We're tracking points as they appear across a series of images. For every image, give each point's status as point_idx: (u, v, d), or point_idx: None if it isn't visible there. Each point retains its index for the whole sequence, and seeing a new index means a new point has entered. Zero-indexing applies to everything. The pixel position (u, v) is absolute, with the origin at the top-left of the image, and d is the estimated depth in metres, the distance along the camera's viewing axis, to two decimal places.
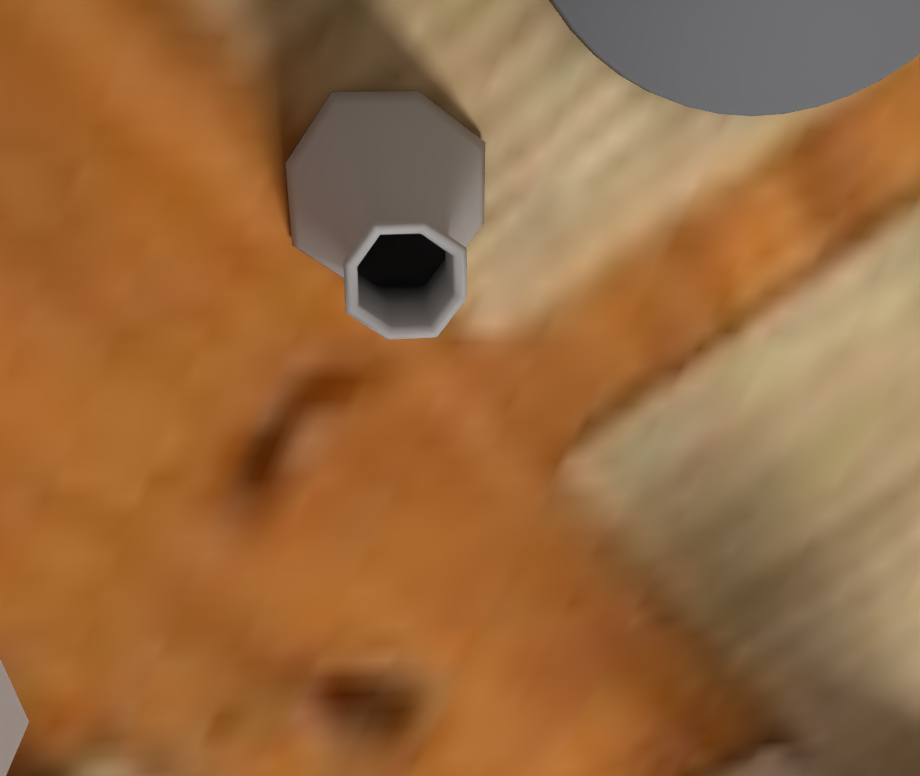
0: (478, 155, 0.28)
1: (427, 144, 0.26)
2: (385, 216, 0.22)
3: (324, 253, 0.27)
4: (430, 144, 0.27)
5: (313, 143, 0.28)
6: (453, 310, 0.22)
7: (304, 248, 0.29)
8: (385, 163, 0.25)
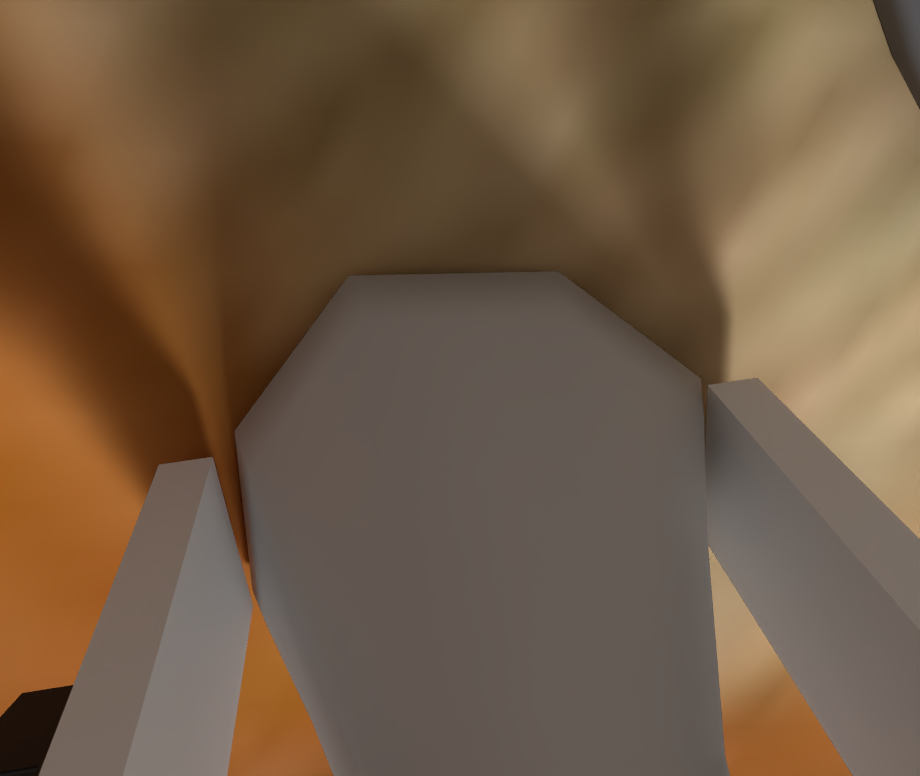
0: (703, 432, 0.12)
1: (607, 453, 0.10)
2: None
3: (323, 743, 0.10)
4: (612, 449, 0.10)
5: (298, 410, 0.11)
6: None
7: (276, 642, 0.12)
8: (512, 577, 0.08)
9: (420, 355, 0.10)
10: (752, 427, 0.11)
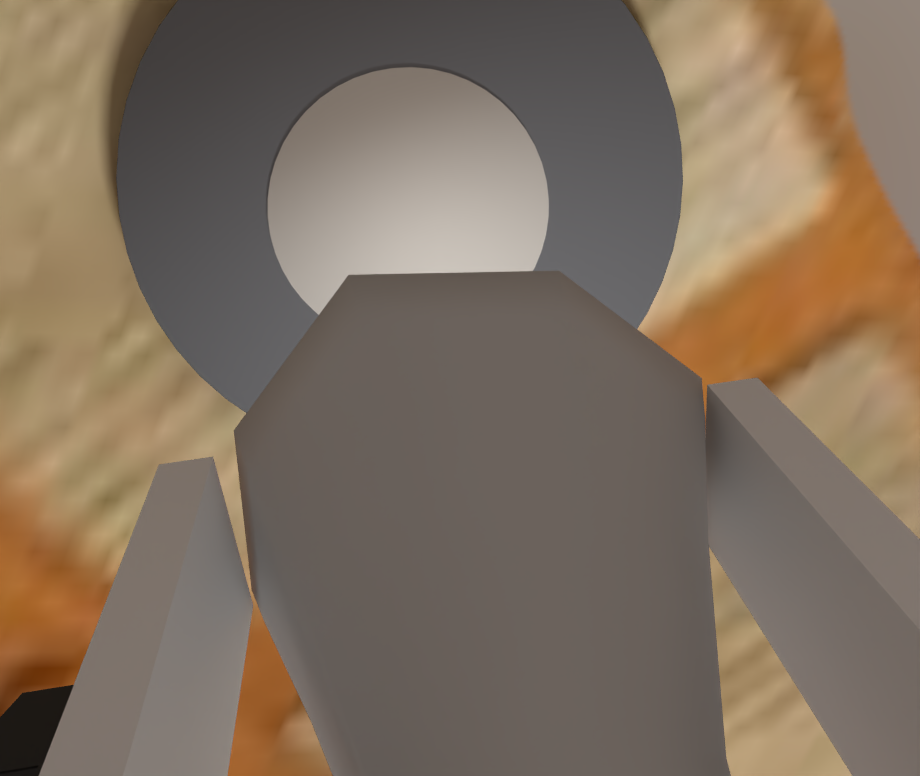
0: (704, 432, 0.12)
1: (607, 453, 0.10)
2: None
3: (322, 743, 0.10)
4: (613, 449, 0.10)
5: (298, 409, 0.11)
6: None
7: (275, 642, 0.12)
8: (512, 578, 0.08)
9: (420, 354, 0.10)
10: (752, 427, 0.11)
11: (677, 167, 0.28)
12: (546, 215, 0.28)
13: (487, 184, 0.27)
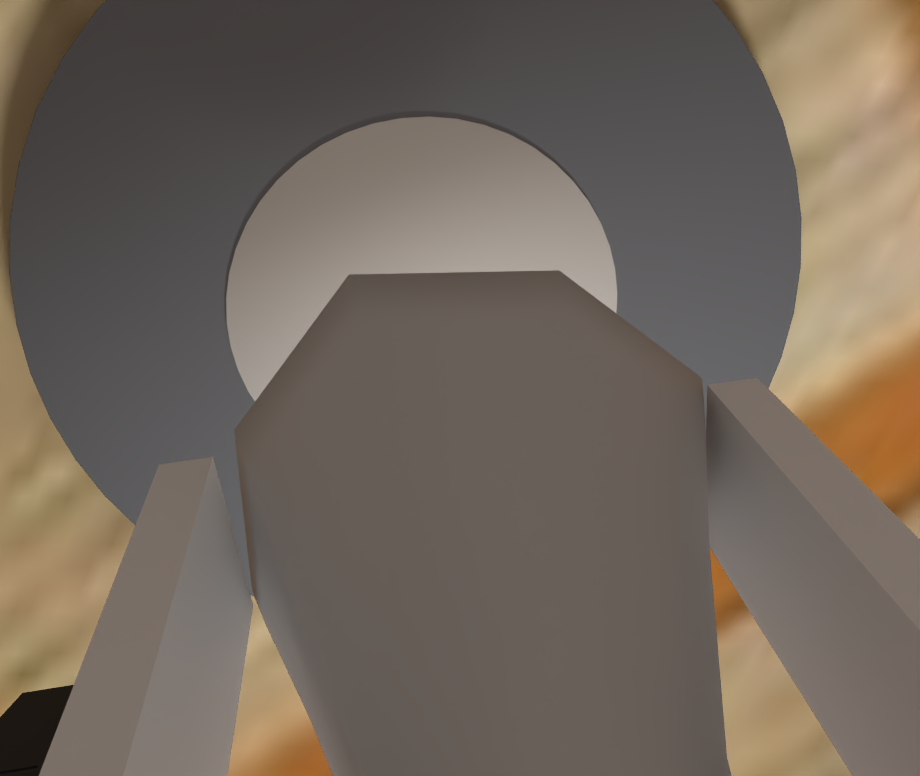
0: (704, 432, 0.12)
1: (607, 453, 0.10)
2: None
3: (322, 743, 0.10)
4: (613, 449, 0.10)
5: (298, 409, 0.11)
6: None
7: (275, 643, 0.12)
8: (512, 577, 0.08)
9: (420, 354, 0.10)
10: (752, 426, 0.11)
11: (794, 249, 0.20)
12: None
13: None
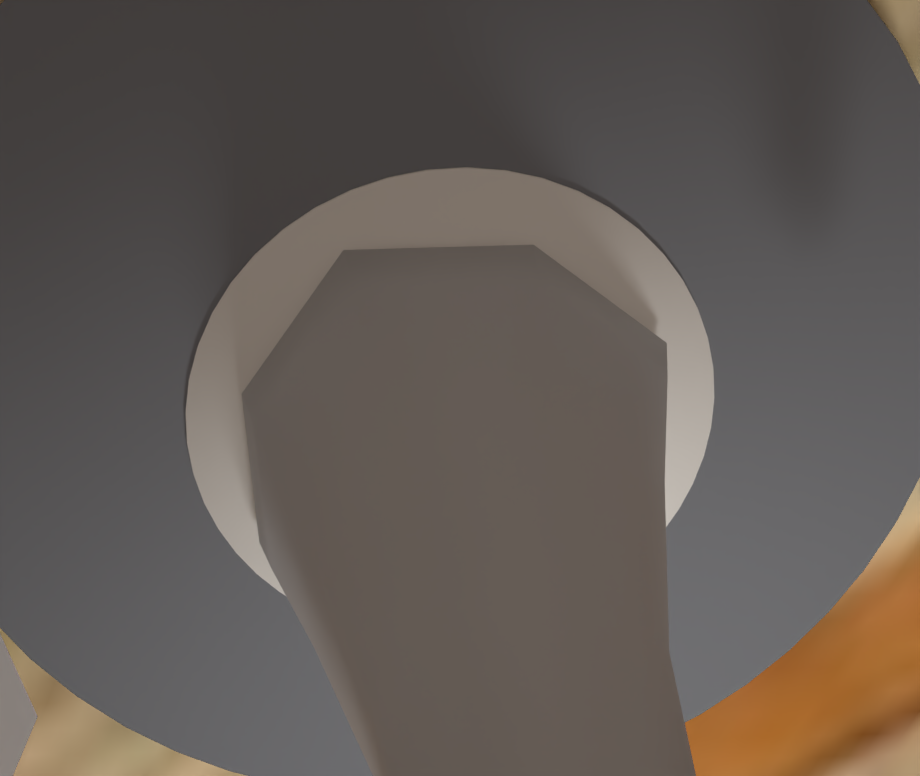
0: (666, 389, 0.13)
1: (573, 402, 0.11)
2: None
3: (323, 662, 0.11)
4: (578, 399, 0.11)
5: (299, 371, 0.12)
6: None
7: (281, 584, 0.13)
8: (485, 501, 0.09)
9: (407, 318, 0.11)
10: None
11: None
12: (707, 424, 0.15)
13: None
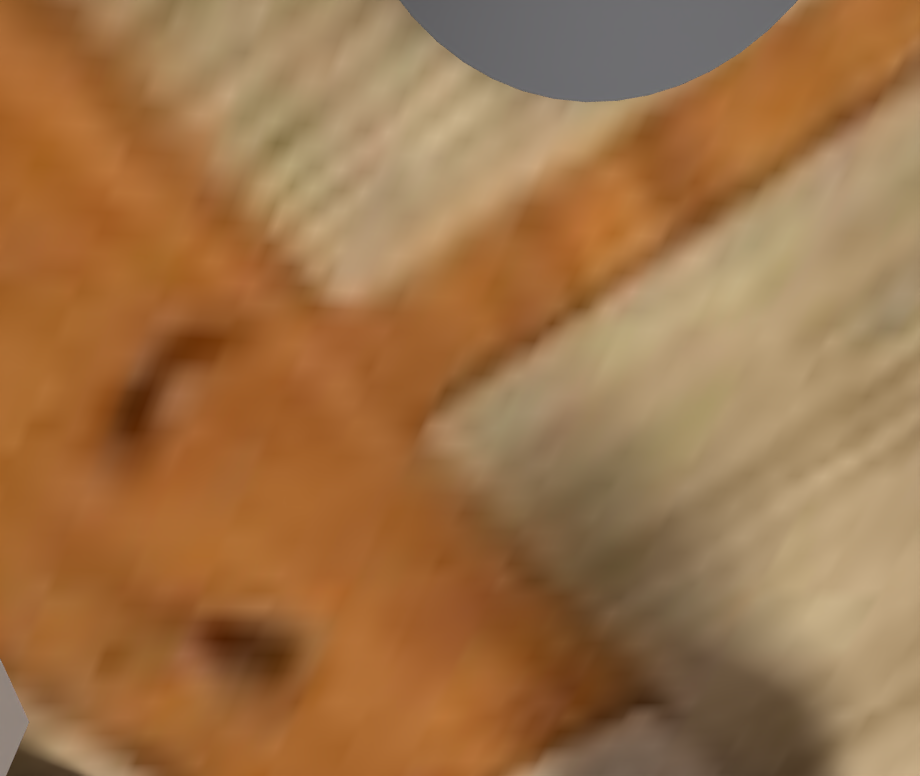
0: None
1: None
2: None
3: None
4: None
5: None
6: None
7: None
8: None
9: None
10: None
11: None
12: None
13: None
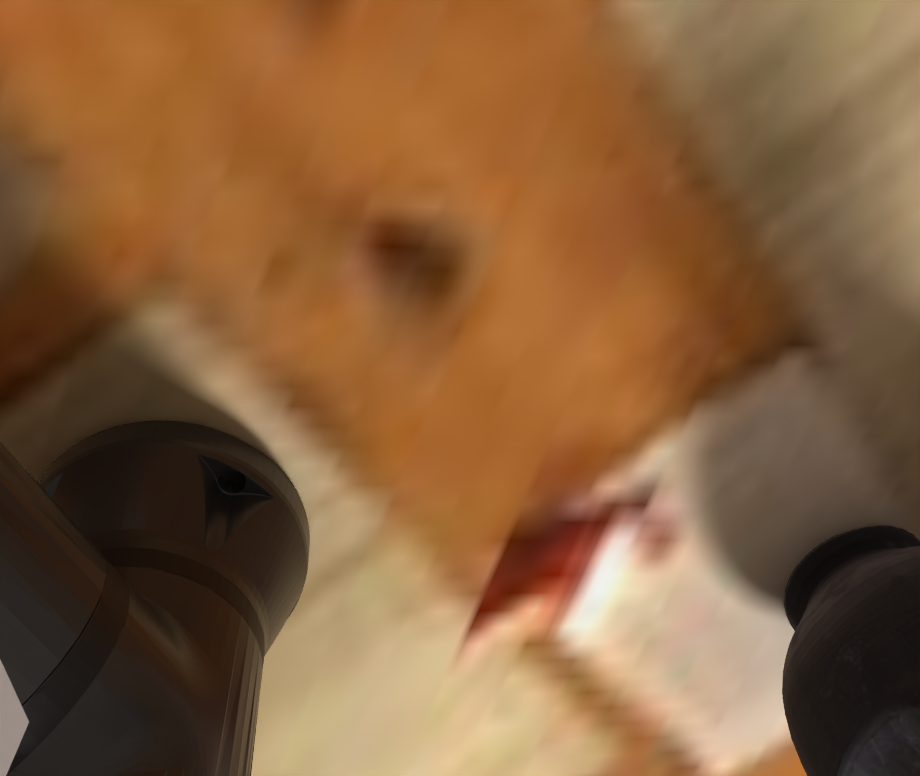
0: None
1: None
2: None
3: None
4: None
5: None
6: None
7: None
8: None
9: None
10: None
11: None
12: None
13: None
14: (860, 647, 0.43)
